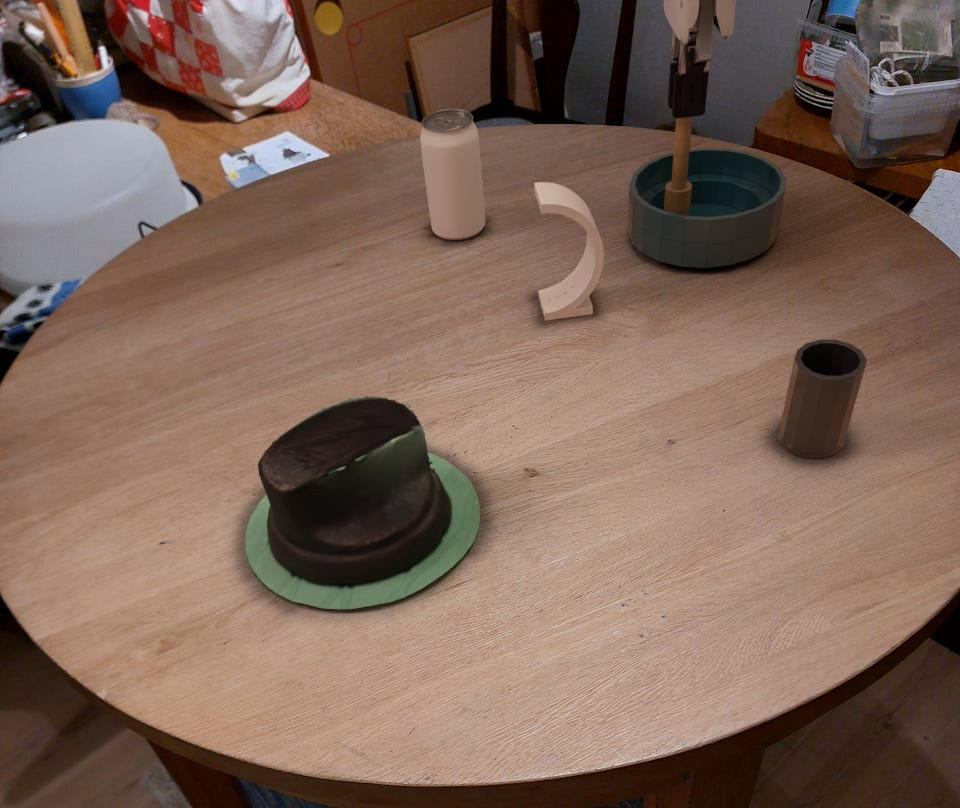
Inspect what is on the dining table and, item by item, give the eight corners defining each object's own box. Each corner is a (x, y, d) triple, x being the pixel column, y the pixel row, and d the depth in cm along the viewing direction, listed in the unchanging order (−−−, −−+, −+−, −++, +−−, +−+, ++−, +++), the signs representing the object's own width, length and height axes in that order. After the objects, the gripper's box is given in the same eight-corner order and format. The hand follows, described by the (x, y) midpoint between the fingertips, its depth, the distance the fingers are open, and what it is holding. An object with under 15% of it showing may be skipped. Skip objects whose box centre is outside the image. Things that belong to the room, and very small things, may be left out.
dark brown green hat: (365, 405, 85) (535, 489, 76) (263, 574, 85) (421, 677, 76) (275, 318, 71) (469, 408, 63) (153, 519, 71) (331, 636, 63)
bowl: (756, 194, 106) (764, 140, 101) (793, 265, 95) (804, 209, 91) (618, 210, 106) (619, 157, 101) (640, 282, 96) (643, 227, 91)
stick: (685, 215, 100) (701, 41, 87) (691, 227, 98) (707, 51, 85) (660, 218, 100) (672, 44, 87) (665, 230, 99) (678, 55, 85)
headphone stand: (538, 297, 96) (533, 182, 87) (594, 289, 96) (596, 173, 87) (544, 321, 93) (540, 204, 84) (602, 313, 93) (605, 196, 84)
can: (468, 246, 104) (457, 136, 95) (421, 236, 106) (406, 128, 97) (495, 220, 107) (487, 111, 98) (449, 211, 110) (437, 104, 100)
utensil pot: (832, 415, 80) (853, 335, 74) (852, 455, 76) (876, 375, 70) (771, 422, 80) (787, 342, 74) (787, 462, 76) (806, 382, 70)
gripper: (773, -106, 71) (741, 140, 86) (728, -150, 81) (706, 76, 95) (678, -94, 71) (662, 149, 86) (645, -140, 81) (635, 85, 96)
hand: (685, 109), depth 90 cm, fingers closed on stick, 1 cm apart
